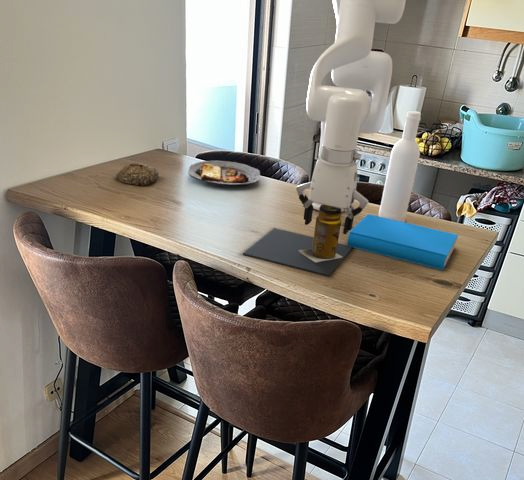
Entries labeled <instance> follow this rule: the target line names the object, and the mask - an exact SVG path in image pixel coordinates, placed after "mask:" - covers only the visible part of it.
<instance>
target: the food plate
mask: <svg viewBox="0 0 524 480" xmlns="http://www.w3.org/2000/svg"><path fill="white" fill-rule="evenodd" d="M187 173H188V175H189V176H190V177H191V178H193V179H195V180H198V181H201V182H204V183H208V184H217V185H224V186H242V185H244V186H247V185H253V184H255V183H258V182H259V181H260V178H261V171H260V170H259V169H258V168H255V167H252V166H250V165H248V164H245V163H242V162H241V163H240V162H237V161H229V160H203V161H199V162H195V163H193V164H190V166H189V169H188V172H187Z"/></svg>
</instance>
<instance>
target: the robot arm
mask: <svg viewBox="0 0 524 480" xmlns="http://www.w3.org/2000/svg"><path fill="white" fill-rule="evenodd" d="M406 1H407V0H332V5H333V10H334V13H335V15H334V16H335V20H336V31H335V39H334V43H332V44H331V45H330V46H328V47H327V49H325V50H324V51H323V52H322V53H321V55H320V56H319V57H318V58H317V60H316V61H315V63H314V65H313V68H312V70H311V72H310V77H309V84H308V89H307V95H306V96H307V97H306V105H305V106H306V113H307V116H308V118H310V120H313V121H316V122H321V123H320V124H321V125H320V141H319V147H318V148H319V149H318V156H317V160H316V162H315V165H314V169H313V172H312V177H311V181H309V182H304V183H301V184H299V185H297V186H296V188H295V190H296V192H297V196H298V199H299V201H300V203H301V204H302V206H303V209H304V212H303V220H304V225H306V226H307V225H309V224H310V223H311V222H312V220H313V215H314V214H313V213H314V210H315V211H316V210H317V211H319V208H320V206H321V205H327V206H332V207H336V208H341V209H342V211H341V213H342V212H345V214H346V217H345V219H344V224H343V230H342V234H343V235H347V234H348V233H349V232H350V231H351V230H352V229H353V224H354V218H355V217H356V216H358V215H359V214H361V213H362V211H363V210H364V209H365V208H366V206H367V205H368V204H369V199H367V198H366V197H365V196H364V195H363V194H361V193H360V192H359V191H358V190H357V184H358V163H357V162H356V161H361V160H362V157H363V156H362V153H359V152H358V151H357V150H358V149H357V146H358V140H359V135H360V133H361V134H373V135H374V134H377V133H378V132H380V131H381V129H382V127H383V124H384V122H385V121H384V120H385V116H386V110H387V103H388V98H389V92H390V88H391V81H392V75H393V58H392V57H391V56H390V55H389V53H386V52H383V51H377V50H376V51H375V50H372V48H373V43H374V33H375V27H376V26H375V25H376V23H379V24H389V25H394V24H397V23H398V22H400V21H401V19H402V17H403V15H404V12H405V7H406ZM330 72H331V79H332V80H331V81H332V83H333V84H334V85H325V84H322V83H323V79H324V77H325V76H326V75H327V74H329V73H330ZM367 91H368V92H369V93H371V96H370V95H369V94H368V92H367ZM306 190H309V192H308V196H307V194H306V193H305V191H306ZM355 201H357V202H358V203H359V205H358V206H357V207H354V205H353V204H354V202H355Z"/></svg>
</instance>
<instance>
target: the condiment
mask: <svg viewBox="0 0 524 480" xmlns="http://www.w3.org/2000/svg"><path fill="white" fill-rule="evenodd" d="M341 211H342V209H341V208H336V207H332V206H327V205H321V206H320V208H319V210H318V214H317V216H316V219H315V225H314V231H313V237H314V238H313V245H312V248H309V249H305V250H298V251H299V252H300V253H302V254H303V255H304V256H306V257H308V258H309V259H311V260H312V261H314V262H321V261H325V260H332V259H338V258H342V256H341V255H339V254H337V253H336V250H337V244H338V243H339V238H340V233H341V226H342V219H341V217H342V212H341Z"/></svg>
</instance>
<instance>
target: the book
mask: <svg viewBox="0 0 524 480" xmlns="http://www.w3.org/2000/svg"><path fill="white" fill-rule="evenodd" d="M458 238H459V234H457V233H453V232H448V231H444V230H440V229H434V228H430V227H425V226H421V225H417V224H412V223H409V222H406V221H405V222H400V221H396V220H392V219H387V218H383V217H379V215H374V214H369V213H368V214H366V215H365V217H363V218H362V219H361V220H360V221H359V222H358V223H357V224H356V225H355V226H354V227H352V229H351V230H349V232H348V236H347V242H346V243H347V244H346V245H348V246H352V247H353V249H354V248H355V249H358V250H362V251H366V252H369V253H374V254H378V255H381V256H386V257H390V258H393V259H397V260H401V261H405V262H409V263H413V264H417V265H422V266H424V267H429V268H433V269H437V270H440V271H444V270H445V267H446V265H447V263H448V262H449V259H450V258H451V256H452V255H453V252H454V251H455V248H456V244H457V240H458Z"/></svg>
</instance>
